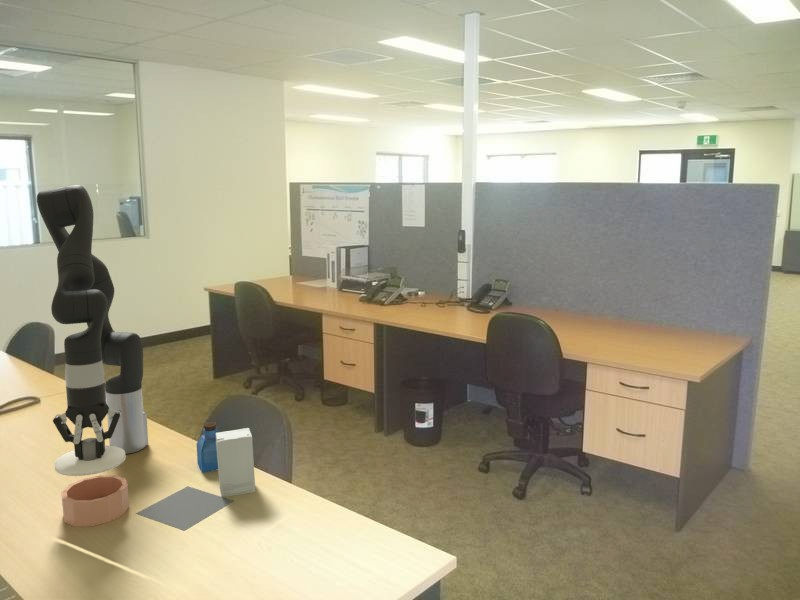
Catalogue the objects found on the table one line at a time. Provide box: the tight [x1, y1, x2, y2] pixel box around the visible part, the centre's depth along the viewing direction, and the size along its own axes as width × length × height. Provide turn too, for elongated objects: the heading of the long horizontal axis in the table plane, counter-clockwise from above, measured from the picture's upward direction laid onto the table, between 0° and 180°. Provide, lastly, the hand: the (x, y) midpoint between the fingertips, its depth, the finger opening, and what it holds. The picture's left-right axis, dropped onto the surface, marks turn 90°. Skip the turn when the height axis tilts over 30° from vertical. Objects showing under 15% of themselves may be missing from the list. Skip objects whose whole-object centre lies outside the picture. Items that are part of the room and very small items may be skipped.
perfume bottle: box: [196, 421, 218, 474], centre depth 163 cm, size 6×6×12 cm
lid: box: [53, 437, 127, 477], centre depth 137 cm, size 14×14×6 cm
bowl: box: [60, 474, 130, 527], centre depth 139 cm, size 13×13×6 cm
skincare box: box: [216, 427, 256, 498], centre depth 149 cm, size 8×6×15 cm
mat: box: [135, 485, 235, 532], centre depth 142 cm, size 15×15×1 cm
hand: (90, 457), depth 138 cm, fingers closed on lid, 3 cm apart
